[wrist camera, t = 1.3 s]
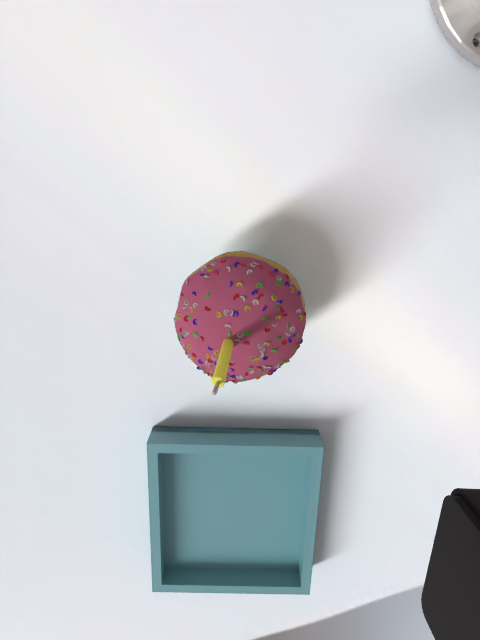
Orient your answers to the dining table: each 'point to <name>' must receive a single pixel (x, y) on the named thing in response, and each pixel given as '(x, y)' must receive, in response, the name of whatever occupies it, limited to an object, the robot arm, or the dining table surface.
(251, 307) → the cupcake
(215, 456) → the tray
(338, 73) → the dining table surface
